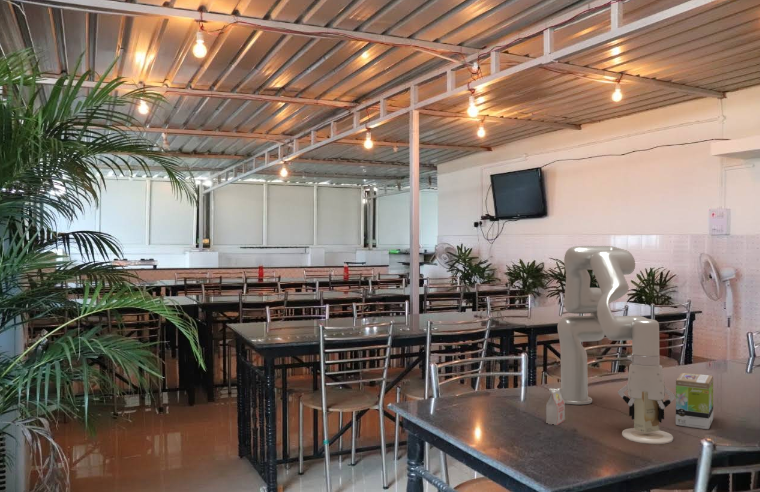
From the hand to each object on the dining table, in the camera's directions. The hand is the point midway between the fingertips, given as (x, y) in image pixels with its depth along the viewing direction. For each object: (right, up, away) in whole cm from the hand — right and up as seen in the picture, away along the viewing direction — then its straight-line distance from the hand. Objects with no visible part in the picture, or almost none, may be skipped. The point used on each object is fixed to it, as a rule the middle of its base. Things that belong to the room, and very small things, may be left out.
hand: (646, 419), depth 187 cm
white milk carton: (-22, -6, +18) cm, 29 cm away
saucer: (0, -5, 0) cm, 5 cm away
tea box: (+22, -6, +16) cm, 28 cm away
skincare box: (0, -3, 0) cm, 3 cm away
